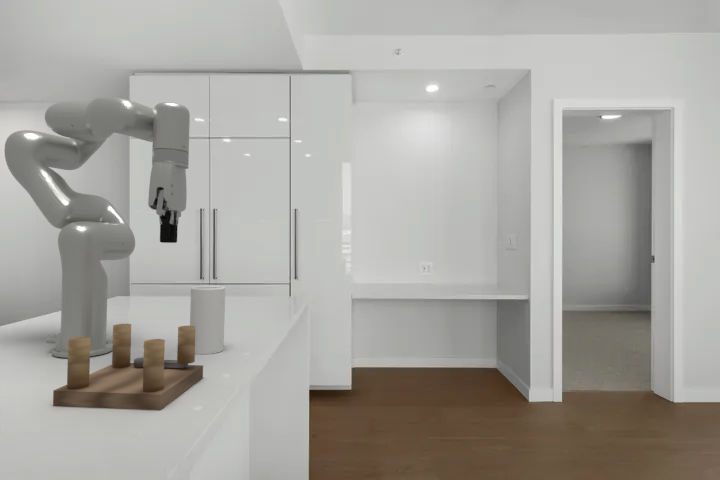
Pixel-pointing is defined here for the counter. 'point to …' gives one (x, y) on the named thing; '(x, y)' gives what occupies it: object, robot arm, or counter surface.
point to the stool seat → (123, 376)
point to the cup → (208, 318)
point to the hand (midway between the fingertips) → (168, 242)
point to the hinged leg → (179, 349)
